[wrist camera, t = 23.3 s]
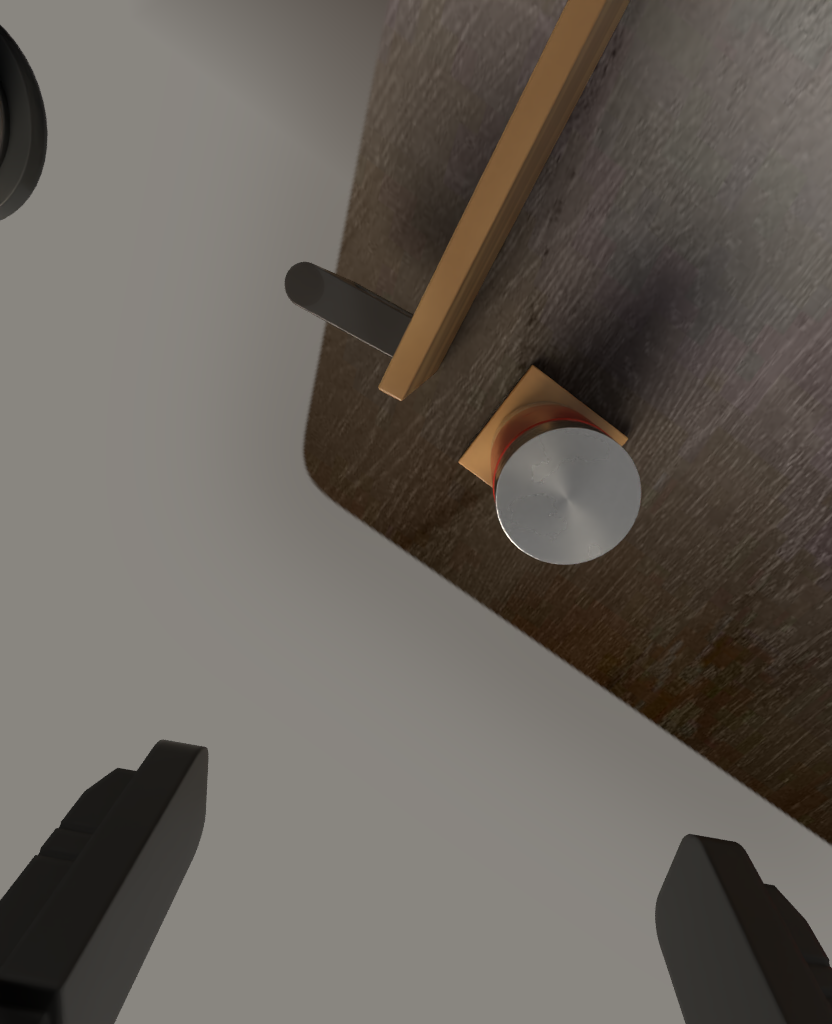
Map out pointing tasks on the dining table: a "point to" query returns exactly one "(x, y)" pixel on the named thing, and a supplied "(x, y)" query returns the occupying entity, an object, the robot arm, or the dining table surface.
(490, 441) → the coaster
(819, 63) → the dining table surface
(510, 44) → the dining table surface
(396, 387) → the cupboard door
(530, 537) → the can
